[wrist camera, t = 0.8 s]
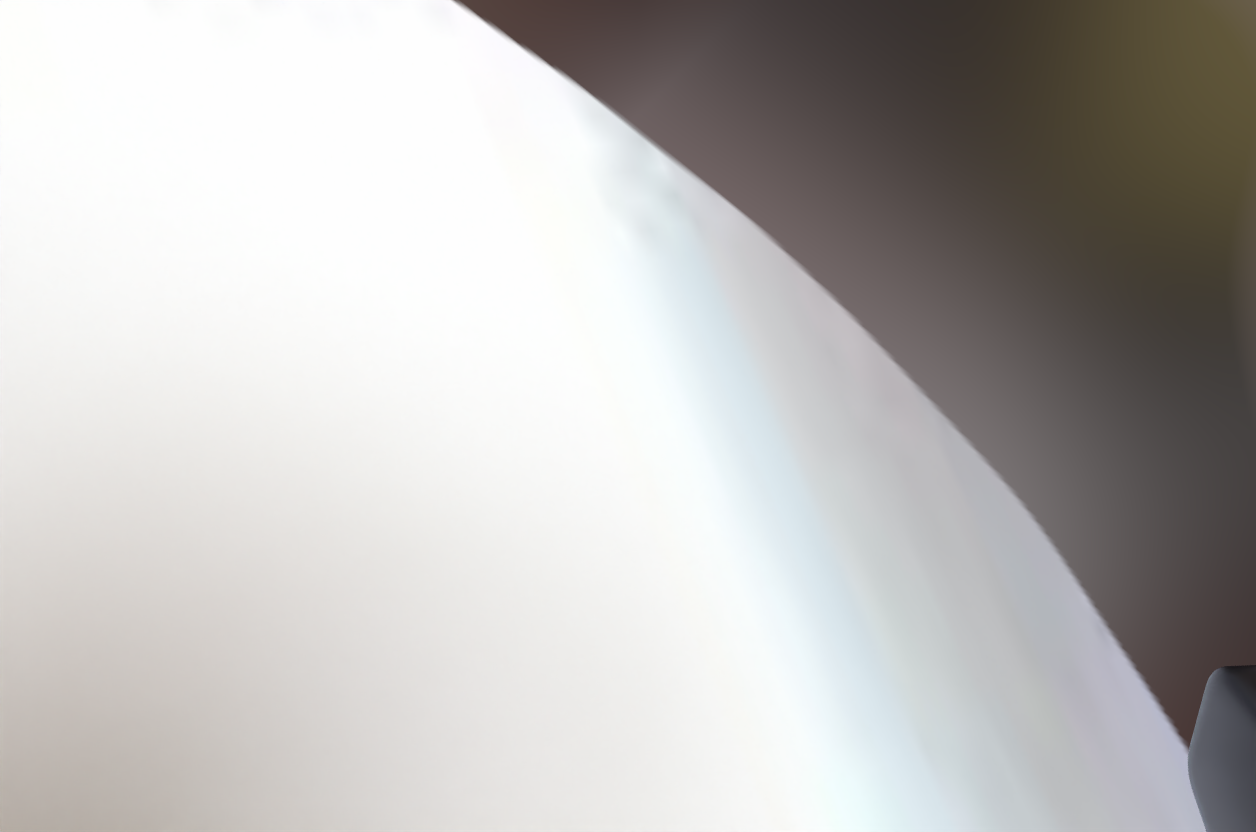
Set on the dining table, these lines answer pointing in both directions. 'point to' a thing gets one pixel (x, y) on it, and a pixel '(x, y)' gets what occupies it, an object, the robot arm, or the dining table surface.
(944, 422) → the dining table surface
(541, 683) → the dining table surface
